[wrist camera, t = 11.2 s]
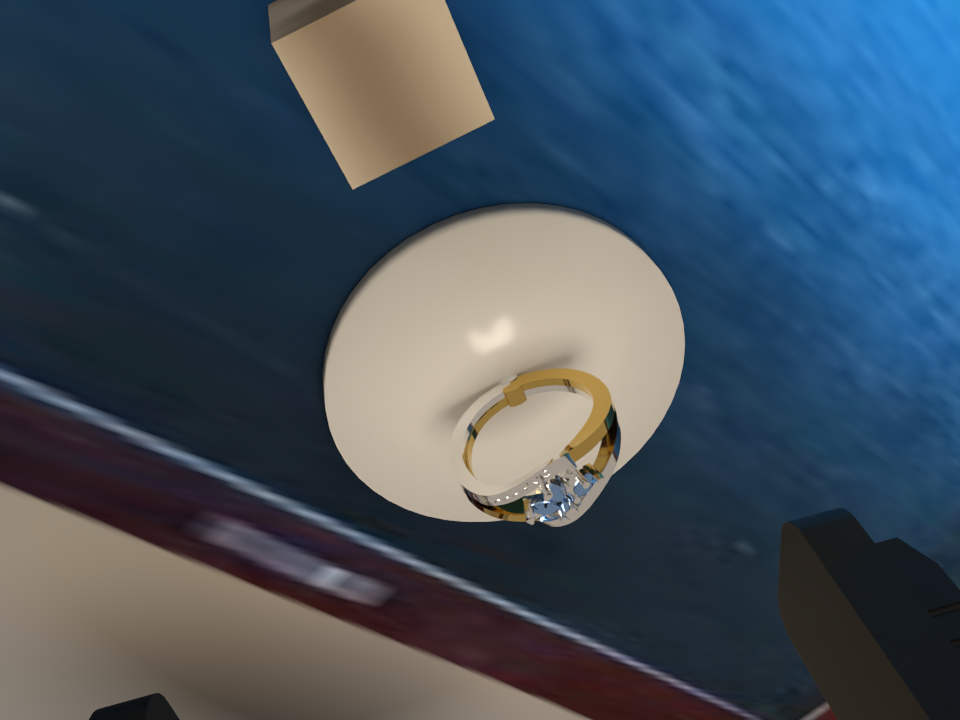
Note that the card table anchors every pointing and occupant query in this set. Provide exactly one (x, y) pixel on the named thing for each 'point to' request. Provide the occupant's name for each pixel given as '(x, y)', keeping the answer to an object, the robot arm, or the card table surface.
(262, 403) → the card table surface
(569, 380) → the ring
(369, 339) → the cream ceramic dish
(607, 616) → the card table surface
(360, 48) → the birch block
